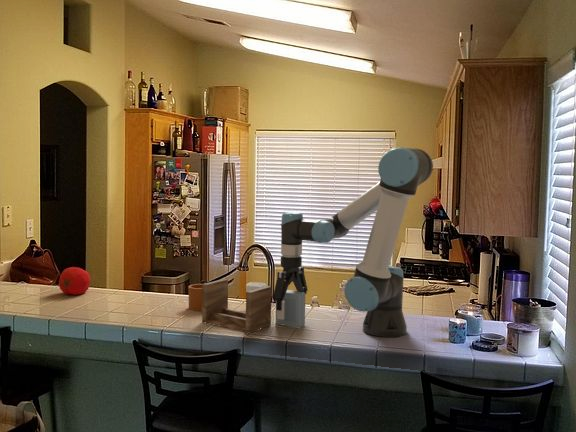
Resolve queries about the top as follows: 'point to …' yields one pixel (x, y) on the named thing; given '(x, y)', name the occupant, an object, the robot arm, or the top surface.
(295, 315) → the gray rectangular block
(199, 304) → the mug
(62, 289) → the tomato
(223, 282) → the wooden frame
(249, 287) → the white cup
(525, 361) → the top surface
